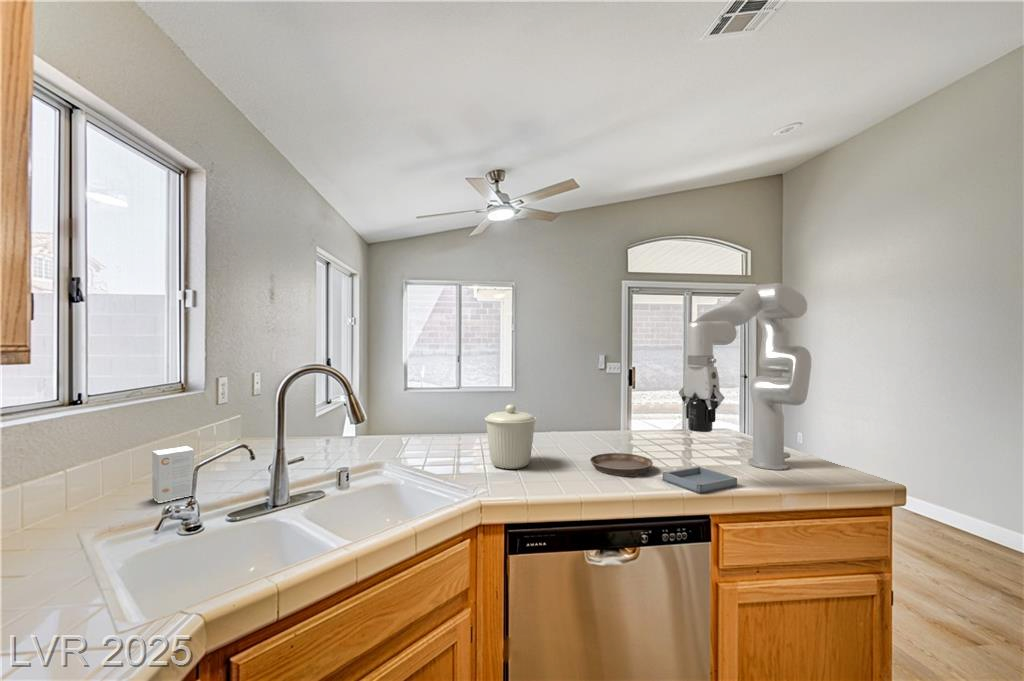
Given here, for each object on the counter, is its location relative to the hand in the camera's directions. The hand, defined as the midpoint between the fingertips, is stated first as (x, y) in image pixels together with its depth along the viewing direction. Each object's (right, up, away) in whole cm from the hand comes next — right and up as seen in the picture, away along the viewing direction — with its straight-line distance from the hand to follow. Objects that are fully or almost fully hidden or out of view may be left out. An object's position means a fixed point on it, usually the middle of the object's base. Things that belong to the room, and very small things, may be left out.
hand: (700, 419), depth 139 cm
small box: (-149, -19, -16) cm, 151 cm away
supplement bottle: (0, -4, 0) cm, 4 cm away
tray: (0, -20, 0) cm, 20 cm away
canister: (-58, -19, +19) cm, 64 cm away
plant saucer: (-21, -20, +16) cm, 33 cm away
